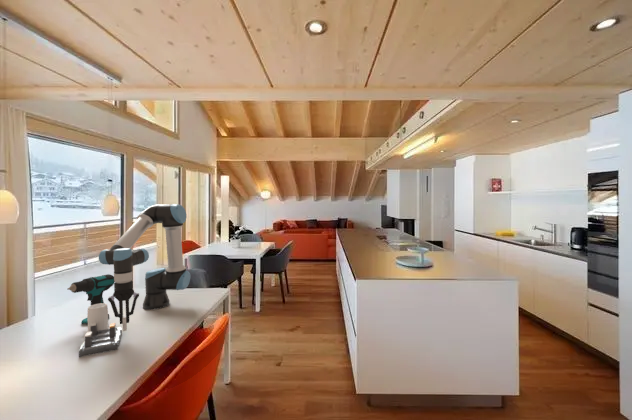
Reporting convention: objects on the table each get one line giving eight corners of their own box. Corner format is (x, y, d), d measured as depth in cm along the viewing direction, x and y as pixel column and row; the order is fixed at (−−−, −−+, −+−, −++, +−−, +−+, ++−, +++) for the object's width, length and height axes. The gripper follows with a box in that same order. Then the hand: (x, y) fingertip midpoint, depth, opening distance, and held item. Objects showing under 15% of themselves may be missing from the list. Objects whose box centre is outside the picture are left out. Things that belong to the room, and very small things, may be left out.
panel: (122, 332, 155) (121, 326, 155) (117, 349, 137) (117, 342, 137) (88, 338, 149) (87, 331, 149) (78, 357, 131) (78, 349, 131)
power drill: (76, 333, 155) (74, 284, 155) (61, 331, 157) (60, 283, 156) (119, 314, 181) (117, 272, 180) (106, 313, 183) (104, 271, 182)
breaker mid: (115, 334, 147) (115, 322, 147) (114, 337, 144) (114, 325, 143) (110, 334, 146) (110, 323, 146) (109, 338, 143) (109, 326, 143)
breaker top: (92, 343, 138) (92, 331, 137) (90, 347, 134) (90, 334, 134) (87, 344, 137) (86, 332, 137) (85, 348, 133) (84, 335, 133)
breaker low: (97, 332, 149) (97, 321, 149) (96, 335, 146) (95, 324, 145) (92, 333, 148) (92, 322, 148) (90, 336, 145) (90, 325, 144)
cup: (112, 331, 157) (111, 303, 156) (96, 338, 149) (95, 309, 149) (100, 329, 160) (99, 302, 159) (83, 336, 152) (83, 307, 151)
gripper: (139, 277, 153) (140, 324, 153) (108, 281, 147) (109, 329, 147) (138, 281, 146) (140, 330, 147) (106, 284, 140) (107, 335, 141)
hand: (124, 329), depth 147 cm, fingers closed
